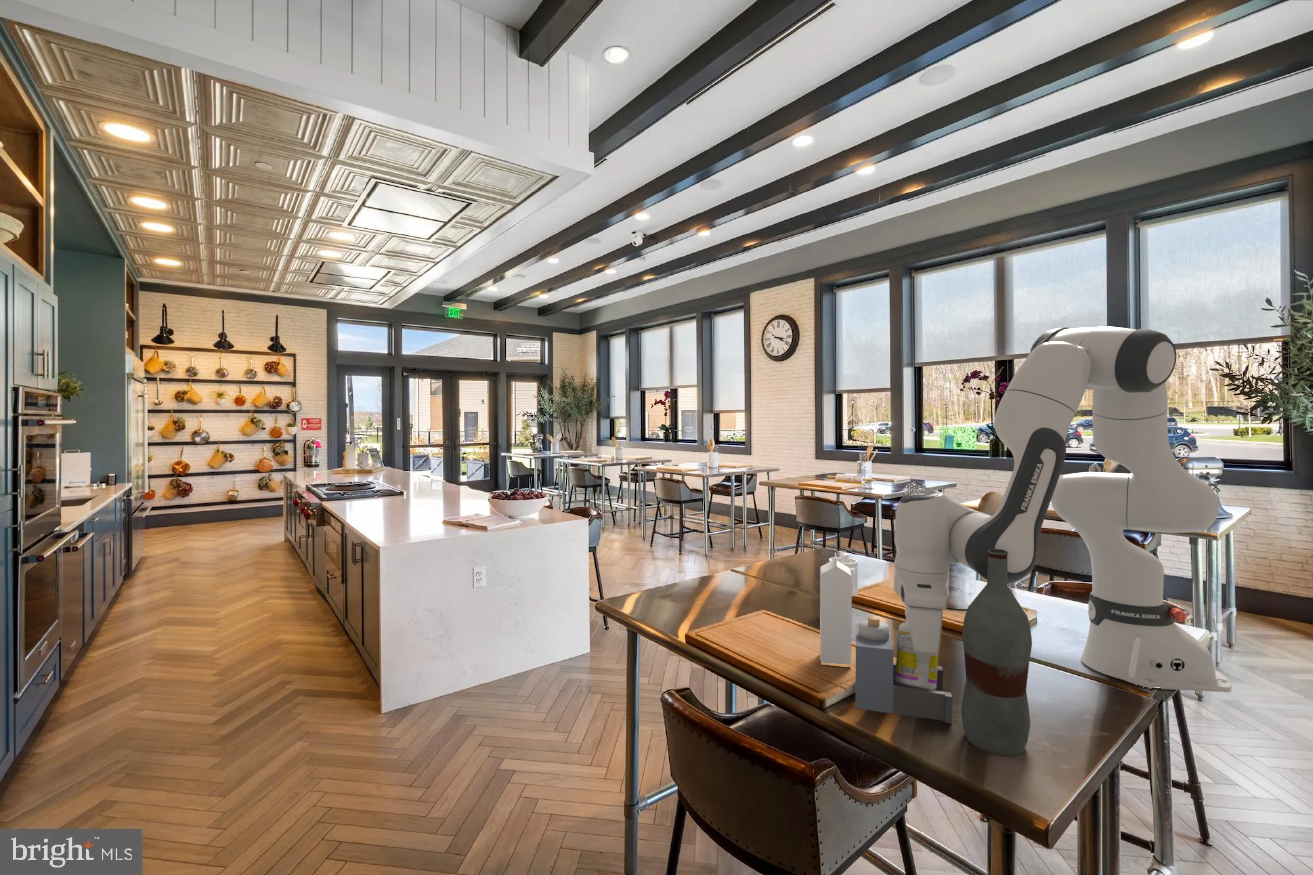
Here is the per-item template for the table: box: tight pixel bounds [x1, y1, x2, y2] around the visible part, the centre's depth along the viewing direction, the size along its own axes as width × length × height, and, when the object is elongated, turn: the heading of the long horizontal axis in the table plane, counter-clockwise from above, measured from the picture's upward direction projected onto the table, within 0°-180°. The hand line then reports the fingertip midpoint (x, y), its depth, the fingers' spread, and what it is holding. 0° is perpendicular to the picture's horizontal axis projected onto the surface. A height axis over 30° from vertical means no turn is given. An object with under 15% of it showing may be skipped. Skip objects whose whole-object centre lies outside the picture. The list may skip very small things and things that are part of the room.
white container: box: [828, 553, 859, 597], centre depth 151 cm, size 7×7×15 cm
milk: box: [819, 552, 853, 665], centre depth 122 cm, size 6×6×22 cm
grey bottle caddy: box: [855, 616, 953, 725], centre depth 106 cm, size 15×15×14 cm
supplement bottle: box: [895, 609, 939, 690], centre depth 105 cm, size 7×7×13 cm
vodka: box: [960, 549, 1033, 757], centre depth 91 cm, size 9×9×30 cm
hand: (919, 661), depth 104 cm, fingers closed on supplement bottle, 8 cm apart
